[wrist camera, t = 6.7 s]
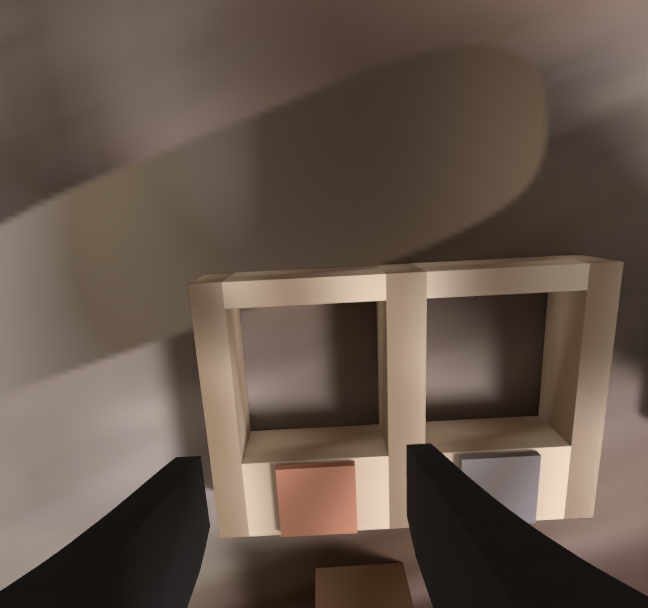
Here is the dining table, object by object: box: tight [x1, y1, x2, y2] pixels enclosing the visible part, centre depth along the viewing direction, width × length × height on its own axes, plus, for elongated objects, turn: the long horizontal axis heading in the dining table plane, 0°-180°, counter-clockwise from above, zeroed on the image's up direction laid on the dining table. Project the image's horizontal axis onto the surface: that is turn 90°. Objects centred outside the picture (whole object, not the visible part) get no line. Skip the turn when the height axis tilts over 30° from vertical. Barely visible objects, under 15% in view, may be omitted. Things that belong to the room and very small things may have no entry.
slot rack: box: [187, 255, 624, 538], centre depth 17 cm, size 16×11×3 cm
